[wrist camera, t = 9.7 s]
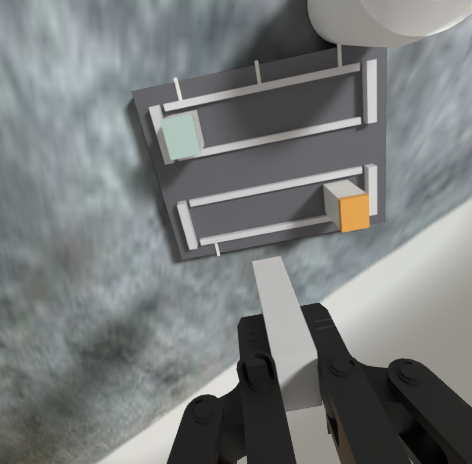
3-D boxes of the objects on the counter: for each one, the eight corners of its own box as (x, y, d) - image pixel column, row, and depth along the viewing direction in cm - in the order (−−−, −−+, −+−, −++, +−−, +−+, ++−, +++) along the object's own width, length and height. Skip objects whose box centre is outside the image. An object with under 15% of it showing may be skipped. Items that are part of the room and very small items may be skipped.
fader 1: (179, 149, 29) (170, 160, 24) (170, 115, 28) (159, 120, 23) (204, 144, 29) (201, 154, 24) (196, 109, 28) (191, 113, 23)
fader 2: (325, 212, 32) (342, 232, 27) (322, 184, 31) (340, 200, 26) (348, 207, 32) (369, 227, 27) (347, 179, 31) (369, 195, 26)
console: (185, 253, 36) (181, 266, 33) (136, 87, 29) (126, 87, 26) (376, 217, 35) (389, 228, 32) (376, 36, 28) (392, 30, 25)
